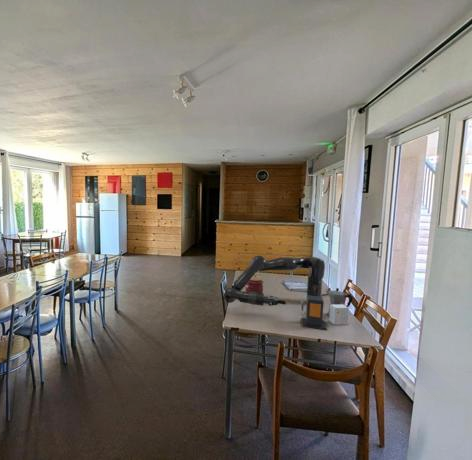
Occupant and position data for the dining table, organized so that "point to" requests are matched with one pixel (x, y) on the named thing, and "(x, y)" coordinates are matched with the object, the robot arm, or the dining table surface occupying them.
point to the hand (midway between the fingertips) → (285, 302)
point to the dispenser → (314, 313)
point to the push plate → (302, 304)
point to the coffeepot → (338, 298)
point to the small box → (339, 314)
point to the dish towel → (295, 285)
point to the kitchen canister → (255, 284)
